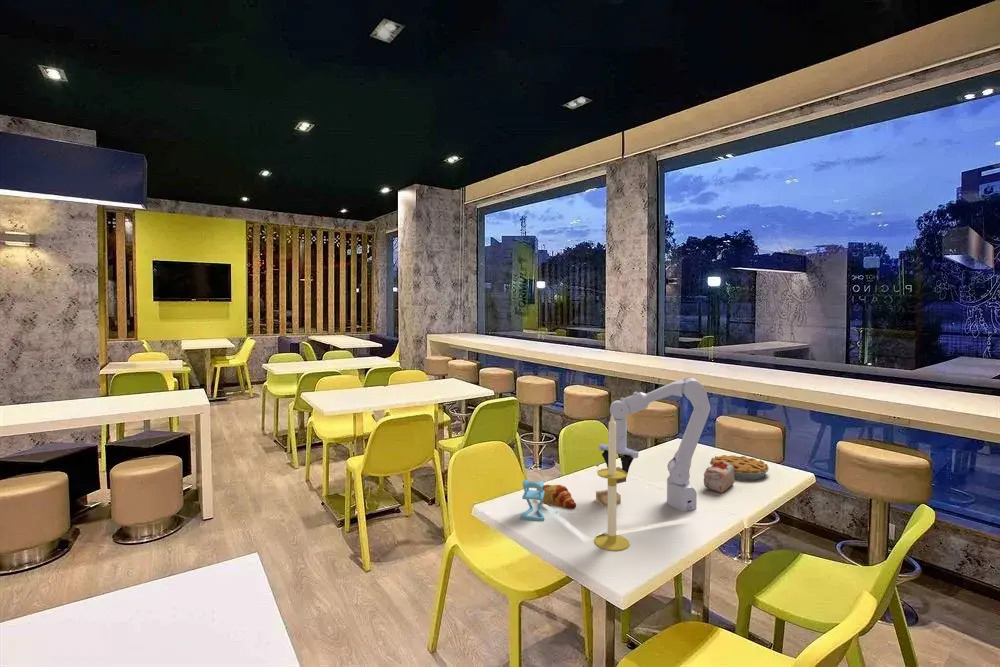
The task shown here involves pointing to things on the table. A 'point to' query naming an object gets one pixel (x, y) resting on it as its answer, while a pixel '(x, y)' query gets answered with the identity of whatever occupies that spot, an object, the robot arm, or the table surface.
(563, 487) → the croissant
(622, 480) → the walnut block
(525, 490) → the chair
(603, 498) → the oak base
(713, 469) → the food item
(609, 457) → the candle
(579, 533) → the table surface
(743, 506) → the table surface
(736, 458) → the pie
